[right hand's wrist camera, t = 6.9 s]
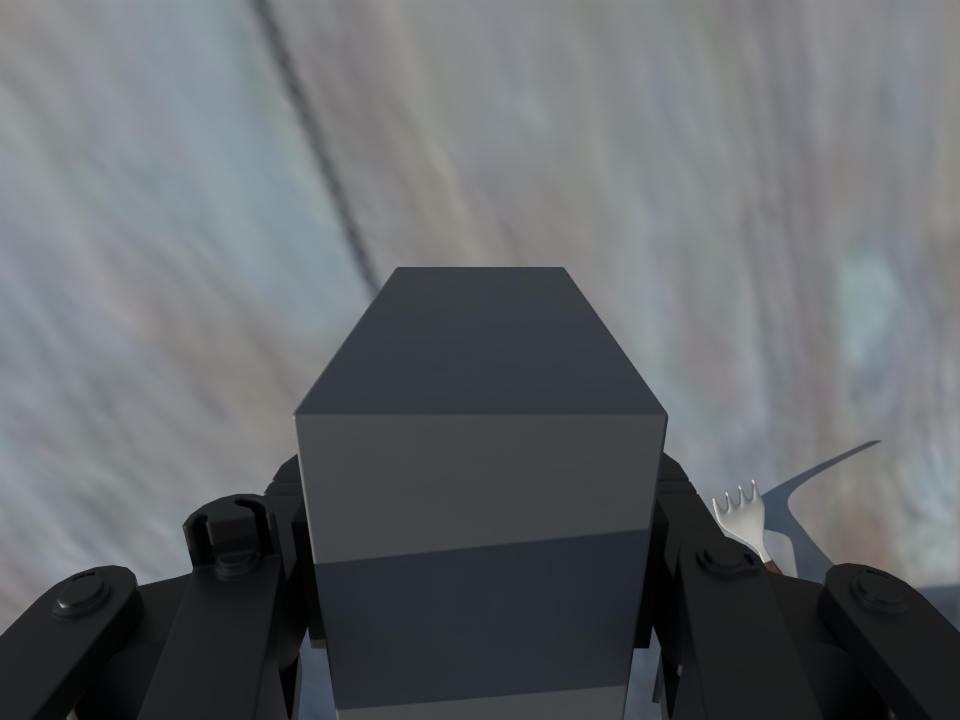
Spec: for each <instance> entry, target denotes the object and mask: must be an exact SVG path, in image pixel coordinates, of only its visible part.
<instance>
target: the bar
mask: <svg viewBox="0 0 960 720" xmlns="http://www.w3.org/2000/svg"><path fill="white" fill-rule="evenodd" d="M292 420H293V426H294V433H295V440H296V446H297V453H298V460H299V467H300V473H301V480H302V487H303V494H304V500H305V507H306V514H307V520H308V527H309V534H310V541H311V547H312V554H313V561H314V568H315V574H316V581H317V588H318V594H319V601H320V608H321V615H322V621H323V628H324V635H325V642H326V648H327V655H328V662H329V668H330V675H331V682H332V689H333V695H334V702H335V709H336V716H337V720H623V718H624V711H625V704H626V698H627V691H628V684H629V677H630V671H631V664H632V657H633V651H634V644H635V637H636V630H637V624H638V617H639V610H640V604H641V597H642V590H643V583H644V577H645V570H646V563H647V557H648V550H649V543H650V537H651V530H652V523H653V516H654V510H655V503H656V496H657V490H658V483H659V476H660V469H661V463H662V456H663V449H664V443H665V436H666V429H667V422H668V414H667V412H666V411H665V409H664V408H663V407H662V405H661V404H660V402H659V401H658V400H657V398H656V397H655V395H654V394H653V393H652V391H651V390H650V388H649V387H648V385H647V384H646V383H645V381H644V380H643V378H642V377H641V376H640V374H639V373H638V371H637V370H636V369H635V367H634V366H633V364H632V363H631V362H630V360H629V359H628V357H627V356H626V354H625V353H624V352H623V350H622V349H621V347H620V346H619V345H618V343H617V342H616V340H615V339H614V338H613V336H612V335H611V333H610V332H609V330H608V329H607V328H606V326H605V325H604V323H603V322H602V321H601V319H600V318H599V316H598V315H597V314H596V312H595V311H594V309H593V308H592V307H591V305H590V304H589V302H588V301H587V299H586V298H585V297H584V295H583V294H582V292H581V291H580V290H579V288H578V287H577V285H576V284H575V283H574V281H573V280H572V278H571V277H570V275H569V274H568V273H567V271H566V270H565V268H563V267H397V268H396V269H395V270H394V272H393V273H392V275H391V276H390V278H389V279H388V280H387V282H386V283H385V285H384V286H383V287H382V289H381V290H380V292H379V293H378V294H377V296H376V297H375V299H374V300H373V301H372V303H371V304H370V306H369V307H368V309H367V310H366V311H365V313H364V314H363V316H362V317H361V318H360V320H359V321H358V323H357V324H356V325H355V327H354V328H353V330H352V331H351V332H350V334H349V335H348V337H347V338H346V340H345V341H344V342H343V344H342V345H341V347H340V348H339V349H338V351H337V352H336V354H335V355H334V356H333V358H332V359H331V361H330V362H329V363H328V365H327V366H326V368H325V369H324V371H323V372H322V373H321V375H320V376H319V378H318V379H317V380H316V382H315V383H314V385H313V386H312V387H311V389H310V390H309V392H308V393H307V394H306V396H305V397H304V399H303V400H302V402H301V403H300V404H299V406H298V407H297V409H296V410H295V411H294V413H293V416H292Z"/></svg>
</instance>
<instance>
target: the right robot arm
mask: <svg viewBox="0 0 960 720" xmlns="http://www.w3.org/2000/svg"><path fill="white" fill-rule="evenodd" d="M183 530H184V534H185V538H186V542H187V546H188V550H189V554H190V557H191V561H192V565H193V571H192V573H190V574H186V575H183V576H180V577H176V578H172V579H168V580H163V581H159V582H154V583H150V584H146V585H141V586H138V583H137V579H136V576H135V574H134V573H133V572H132V571H130V570H129V569H128V568H126V567H121V566H115V565H110V566H102V567H95V568H92V569H89V570H86V571H83V572H80V573H77V574H74V575H72V576H71V577H69V578H67V579H65V580H63V581H61V582H59V583H57V584H56V585H54V586H53V587H52V588H51V589H49V590H48V591H47V592H46V593H44V594H43V595H42V596H41V597H39V598H38V599H37V600H36V601H35V602H34V603H33V604H32V605H31V606H30V607H29V608H28V609H27V610H26V611H25V612H24V613H23V614H22V615H21V616H20V617H19V618H18V619H17V620H16V621H15V622H14V623H13V624H12V625H11V626H10V627H9V628H8V629H7V630H6V631H5V632H4V633H3V634H2V635H1V636H0V720H298V713H299V702H300V691H301V680H302V665H301V659H300V653H299V649H300V647H301V644H302V641H303V638H304V636H305V633H306V630H307V627H308V630H309V636H310V643H311V648H326V642H325V635H324V628H323V621H322V615H321V608H320V601H319V594H318V588H317V581H316V574H315V568H314V561H313V554H312V547H311V541H310V534H309V527H308V520H307V514H306V507H305V500H304V494H303V487H302V480H301V473H300V467H299V460H298V454H296V455H295V456H293V457H292V458H291V459H289V460H288V461H287V462H285V463H284V464H283V465H281V467H280V469H279V470H278V472H277V473H276V475H275V477H274V478H273V480H272V483H270V485H269V486H268V488H267V489H266V491H265V492H264V496H260V495H256V494H235V495H231V496H227V497H222V498H219V499H217V500H215V501H212V502H210V503H208V504H205V505H203V506H202V507H201V508H199V509H198V510H197V511H195V512H194V513H192V514H191V515H190V516H189V518H188V519H187V520H186V522H185V523H184V524H183ZM652 626H654V629H655V632H656V635H657V638H658V640H659V643H660V646H661V653H660V658H659V664H658V670H657V676H656V681H655V687H654V693H653V700H652V702H655V703H659V701H661V711H662V720H960V632H959V631H958V630H957V629H956V628H955V627H954V626H953V625H952V624H951V623H950V622H949V621H948V620H947V619H946V618H945V617H944V616H943V615H942V614H940V613H939V612H938V611H937V610H936V609H935V608H934V607H933V606H932V605H931V604H930V603H929V602H928V601H927V600H926V599H925V598H924V597H923V596H922V595H921V594H920V593H919V592H917V591H916V590H915V589H913V588H912V587H911V586H910V585H908V584H907V583H906V582H904V581H902V580H900V579H899V578H897V577H895V576H893V575H891V574H889V573H887V572H885V571H882V570H879V569H876V568H873V567H870V566H867V565H860V564H852V563H845V564H840V565H834V566H833V567H832V568H831V569H829V570H828V571H827V572H826V574H825V578H824V581H823V584H820V583H815V582H811V581H807V580H802V579H798V578H793V577H789V576H785V575H781V574H778V573H775V572H771V571H769V570H767V568H766V566H765V564H764V563H763V561H762V560H761V558H760V557H759V556H758V555H757V554H756V553H755V552H753V551H752V550H751V549H750V548H749V547H747V546H746V545H744V544H742V543H740V542H738V541H736V540H734V539H732V538H729V537H725V535H724V534H723V532H722V531H721V529H720V528H719V526H718V524H717V523H716V521H715V520H714V518H713V517H712V515H711V513H710V512H709V510H708V509H707V507H706V505H705V504H704V502H703V501H702V499H701V498H700V496H699V494H697V493H696V490H695V488H694V486H693V485H692V483H691V482H689V479H688V477H687V475H686V474H685V472H684V471H683V469H682V467H681V466H680V464H679V463H677V462H676V461H675V460H673V459H672V458H671V457H669V456H668V455H667V454H665V453H664V452H663V456H662V463H661V469H660V476H659V483H658V490H657V496H656V503H655V510H654V516H653V523H652V530H651V537H650V543H649V550H648V557H647V563H646V570H645V577H644V583H643V590H642V597H641V604H640V610H639V617H638V624H637V630H636V637H635V644H634V648H649V645H650V639H651V632H652Z"/></svg>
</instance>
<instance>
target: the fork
mask: <svg viewBox="0 0 960 720" xmlns="http://www.w3.org/2000/svg"><path fill="white" fill-rule="evenodd" d="M739 497H740V503H739V504H738V505H735V504H734V503H733V501H732V499H731V498H730V496H729V494H728V493H727V492H726V500H727V506H728V508H727V510H725V511H723V510H722V509H721V508H720V506H719V504H718V503H717V502H716V500H715V498H713V503H714V508H715V512H716V515H717V519H718V521H719V523H720V524H721V525H722V526H723V527H724V528H725V529H726V530H728V531H729V532H731V533H732V534H734V535H736V536H738V537H739V538H741V539H743V540H745V541H746V542H748V543H750V544H751V545H753V546H754V547H755V548H756V549H757V550H758V552H759V554H760V556H761V558H762V561H763V563H764V564H765V566H766V568H767V570H769V571H771V572H775V573H778V574H781V575H783V574H782V572H781V571H780V570H779V568H778V567H777V566H776V564H775V563H774V561H773V560H772V559H771V557H770V556H769V554H768V553H767V551H766V549H765V546H764V523H765V506H764V502H763V499H762V498H761V496H760V494H759V491H758V489H757V486H756V484H755V480H754V479H752V498H751V499H747V498H746V496H745V494H744V492H743V490H742V488H741V486H739Z"/></svg>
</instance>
